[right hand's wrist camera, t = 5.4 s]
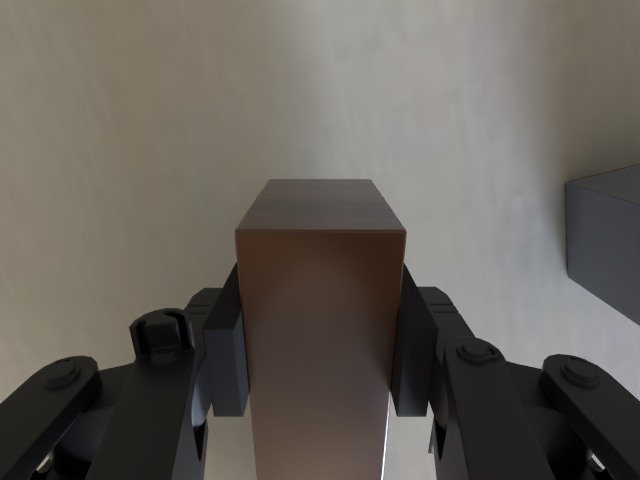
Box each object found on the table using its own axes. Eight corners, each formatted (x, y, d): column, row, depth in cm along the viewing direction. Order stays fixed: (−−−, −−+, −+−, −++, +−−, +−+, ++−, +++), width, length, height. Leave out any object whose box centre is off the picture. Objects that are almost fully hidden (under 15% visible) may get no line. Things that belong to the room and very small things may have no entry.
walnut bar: (268, 178, 14) (233, 229, 8) (371, 179, 14) (407, 229, 8) (287, 556, 22) (277, 707, 17) (351, 556, 22) (361, 707, 17)
